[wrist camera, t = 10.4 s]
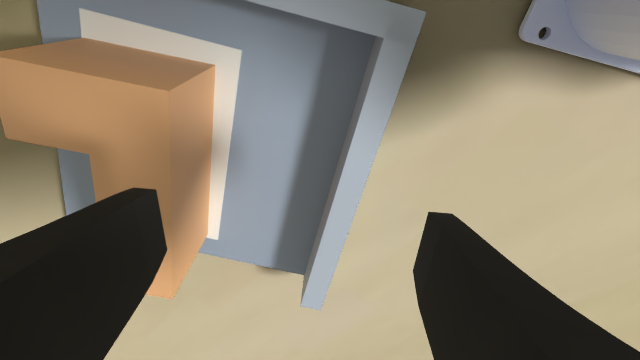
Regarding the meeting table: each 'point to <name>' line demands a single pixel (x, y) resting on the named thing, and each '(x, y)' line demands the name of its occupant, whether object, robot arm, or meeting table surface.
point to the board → (241, 111)
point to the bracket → (122, 128)
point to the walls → (356, 118)
